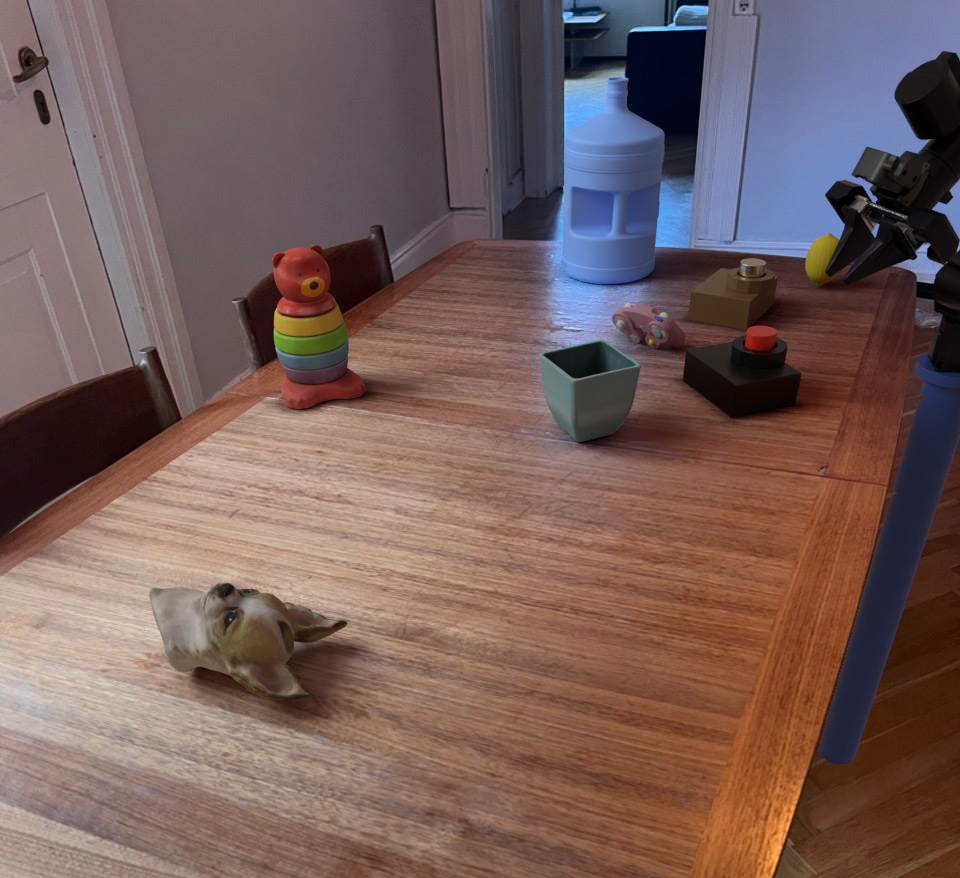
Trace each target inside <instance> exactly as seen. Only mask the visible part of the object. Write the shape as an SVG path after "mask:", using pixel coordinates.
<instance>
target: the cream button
mask: <svg viewBox="0 0 960 878" xmlns="http://www.w3.org/2000/svg"><path fill="white" fill-rule="evenodd" d="M739 263H740V264H739V267H740V268H739V267H738V268H739V276H741V277H744V278H762V277H764V273H765V269H766V266H767V262H766V261H765V260H763V259H761V258H755V257H754V258H743V259H741V260H740V262H739Z"/></svg>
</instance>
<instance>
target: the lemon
mask: <svg viewBox="0 0 960 878" xmlns="http://www.w3.org/2000/svg"><path fill="white" fill-rule="evenodd" d="M839 240H840V238H838V237H836V236H835V235H833V234H832V233H830V232H828V233H826V234H825V235H822V236H820V237H818V238H816V239H815V240H814V241H813V242H812V243H811V245H810V247H809V249H808V251H807V254H806V257H805V262H804V269H805V273H806V276H807V277H808V279H810V280H811V281H812V282H814V283H815V285H816V286H817V287H822V286H823V285H824V284H827V283H830V282H831V281H833V280H834V279H835V278H836V277H838V274H839V273H840V271H839V272H838V273H836V274H835V275H833V276H832V277H829V276H828V275H827V274H826V273H825V270H826V268H827V265H828V263H829V261H830V259H831V257H832V255H833V253H834V251H835V248H836V246H837V244H838V242H839Z"/></svg>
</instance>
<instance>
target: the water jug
mask: <svg viewBox="0 0 960 878" xmlns="http://www.w3.org/2000/svg"><path fill="white" fill-rule="evenodd" d="M606 82H607V90H606V105H605V108H604V109H603V111H601V112H599V113H598V114H596V115H594V116H592V117H590V118H588V119H587V120H584V121H583V122H581V123H579V124H578V125H576V126H574V127H572V128H570V129H569V130H567V132H566V133H565V144H564V147H563V148H564V149H563V163H564V177H563V178H564V180H563V181H564V182H563V202H562V220H563V221H562V222H563V224H562V226H563V227H562V253H561V256H560V265H561V269H562V272H564V274H565V275H567V276H568V277H570V278H571V279H574V280H576V281H580V282H583V283H589V284H598V285H618V284H619V285H621V284H627V283H632V282H636V281H639V280H642V279H644V278H647V277H648V276H649V275H650V274H651V273H652V272H653V271H654V269H655V263H656V244H657V243H656V242H657V232H658V231H657V229H658V219H659V216H660V215H659V214H660V203H661V201H660V198H661V197H660V196H661V184H662V174H663V173H662V171H663V163H664V159H665V151H666V150H665V149H666V148H665V136H666V135H665V131H664V130H663V129H662V128H660V127H658V126H657V125H655V124H653V123H651V122H650V121H648V120H646V119H644V118H643V117H641V116H639V115H637V114H635V112H632V111H630V110H629V108H628V105H627V102H628V95H629V91H628V83H629V78H628V77H624V76H623V77H622V76H621V77H620V76H619V77H618V76H617V77H609V78H607V80H606Z"/></svg>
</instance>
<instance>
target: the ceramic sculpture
mask: <svg viewBox="0 0 960 878" xmlns="http://www.w3.org/2000/svg"><path fill="white" fill-rule="evenodd" d="M148 595H149V600H150V605H151V606H150V607H151V612H152V616H153V618H154V622H155V624H156V627H157V629H158V631H159V634H160V636H161V637H160V638H161V640H162V644H163V648H164V652H165V654H166V657H167V662H168V663H169V665H170V666H171V668H173V669H175V670H176V671H177V672H181V673H190V672H192V671H194V670H195V669H196V668H205V669H208V670H210V671H215V672H218V673H222V674H225V675H228V676H230V677H231V678H232V679H233V680H234V681H235V682H236V683H238V684H239V685H241V686H243V687H244V688H245V689H247V690H248V691H249V692H250V693H251V694H253V695H255V696H257V697H259V698H262V699H264V700H267V701H278V702H281V701H282V702H284V701H285V702H287V701H294V700H303V699H308V698H309V697H310V694H309V692H307V690H305V688H303V686H302V684H301V682H300V680H299V679H298V677H297V675H296V674H295V672H294V671H293V670H292V668H291V667H290V666H289V664H286V663H287V662H288V661H289V660H290V659H291V658H292V655H293V651H294V647H295V643H304V644H305V643H307V644H313V643H317V642H318V641H321V640H323V639H325V638H327V637H330V636H332V635H334V634H336V633H337V632H339V631H340V630H343V629H345V628H346V627H347V625H348V620H344V619H330V618H328V617H325V616H324V615H322V614H320V613H319V612H313V610H312V609H311V608H308V607H306V606H304V605H297V604H294V603H291V602H290V601H286V602H283V600H281V599H280V598H278V597H277V596H276V595H275V594H274V593H270V592H260V591H259V589H257V588H237V587H236V586H235V585H233V584H232V583H229V582H220V583H217V584H215V585H212V586H210V587H209V588H208V589H207V588H206V590H205V591H202V590H199V589H197V588H189V587H185V586H176V587H175V586H174V587H166V588H160V587H151V588H150V589H149V593H148Z"/></svg>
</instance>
